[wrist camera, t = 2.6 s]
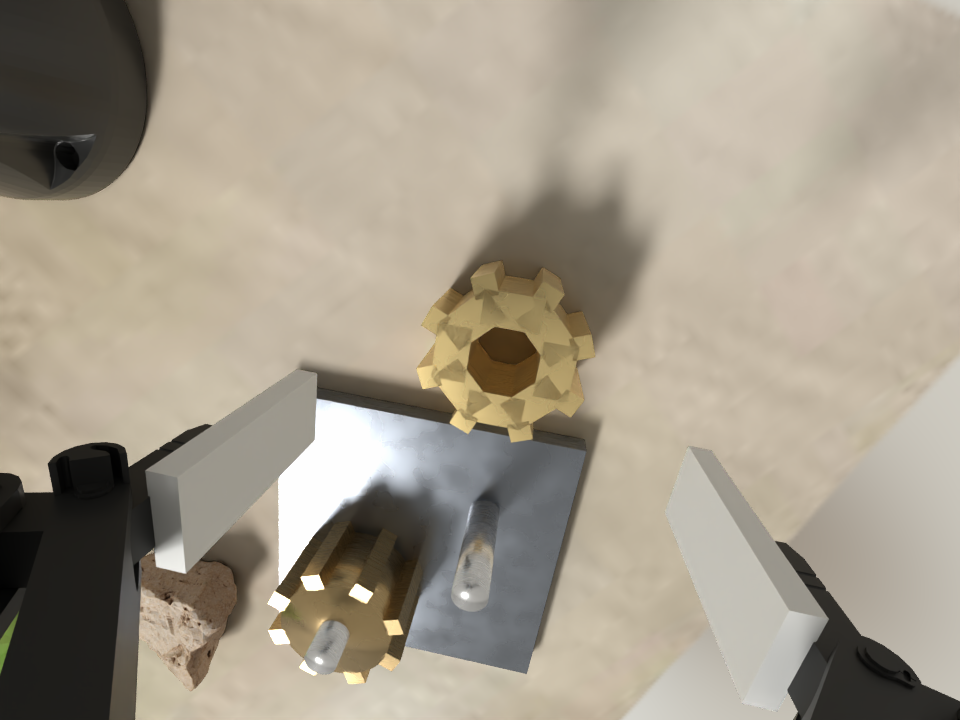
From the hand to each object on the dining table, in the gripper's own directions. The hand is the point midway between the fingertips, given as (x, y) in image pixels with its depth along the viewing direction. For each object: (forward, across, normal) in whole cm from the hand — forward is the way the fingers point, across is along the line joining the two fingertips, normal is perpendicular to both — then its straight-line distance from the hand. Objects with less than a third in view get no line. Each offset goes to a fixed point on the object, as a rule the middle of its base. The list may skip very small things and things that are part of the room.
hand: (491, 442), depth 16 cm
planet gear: (+13, 0, 0) cm, 13 cm away
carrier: (+13, -4, -16) cm, 21 cm away
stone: (+13, -22, -27) cm, 37 cm away
